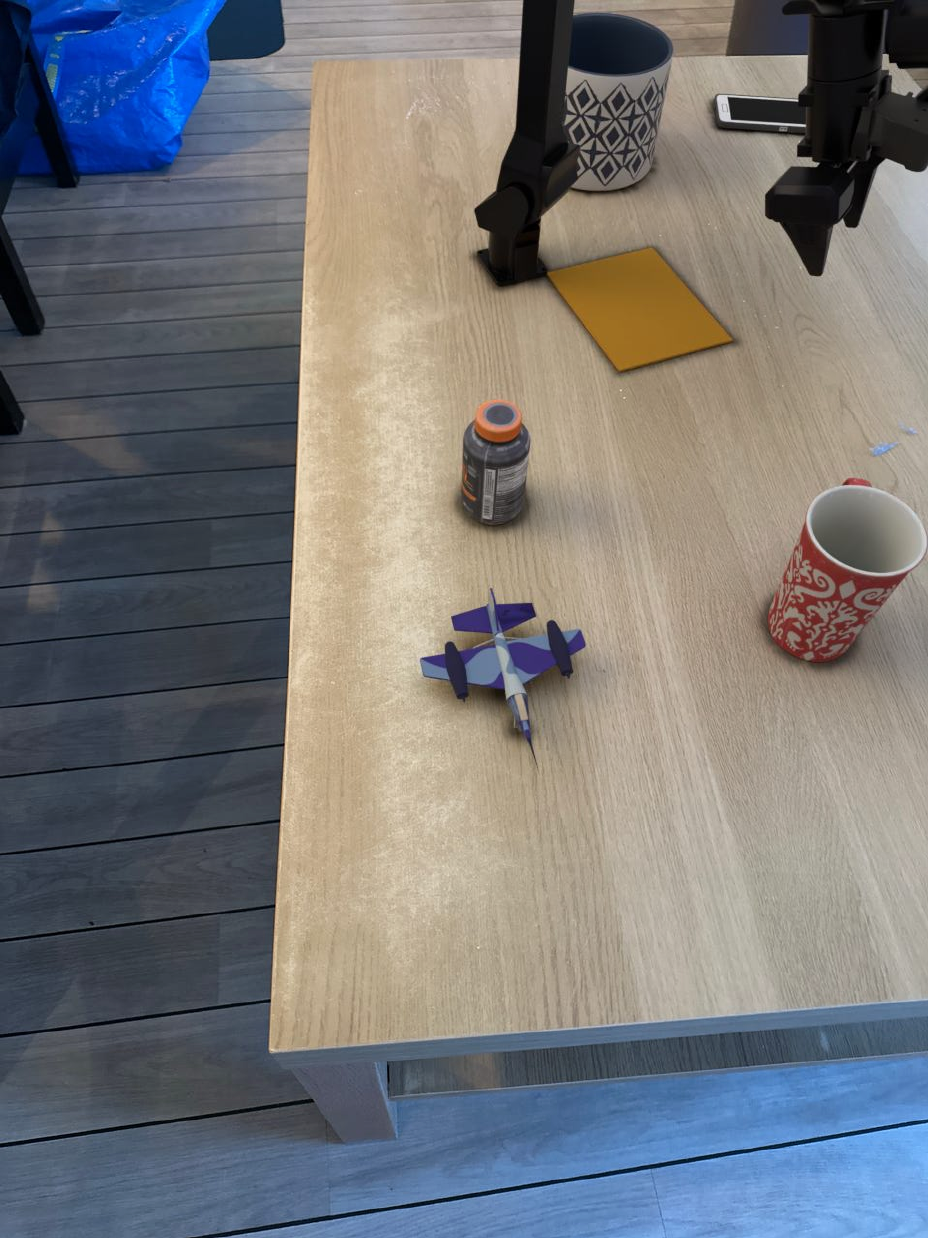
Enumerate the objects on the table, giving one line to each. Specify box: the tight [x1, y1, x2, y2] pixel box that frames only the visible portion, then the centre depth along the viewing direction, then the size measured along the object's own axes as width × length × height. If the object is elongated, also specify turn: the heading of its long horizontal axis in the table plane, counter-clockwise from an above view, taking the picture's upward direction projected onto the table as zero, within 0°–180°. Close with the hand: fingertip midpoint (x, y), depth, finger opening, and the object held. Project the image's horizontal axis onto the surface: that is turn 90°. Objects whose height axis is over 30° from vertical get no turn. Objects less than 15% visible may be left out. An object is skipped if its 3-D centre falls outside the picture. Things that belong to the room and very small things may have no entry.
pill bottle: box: [460, 398, 531, 526], centre depth 86 cm, size 6×6×11 cm
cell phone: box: [713, 93, 806, 134], centre depth 132 cm, size 8×15×1 cm, turn 86°
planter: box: [563, 12, 675, 192], centre depth 119 cm, size 16×16×14 cm
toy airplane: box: [419, 587, 587, 776], centre depth 77 cm, size 13×14×4 cm
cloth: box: [545, 247, 733, 373], centre depth 108 cm, size 18×14×1 cm
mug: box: [767, 477, 928, 663], centre depth 79 cm, size 13×9×14 cm
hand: (834, 250), depth 89 cm, fingers open, 9 cm apart
